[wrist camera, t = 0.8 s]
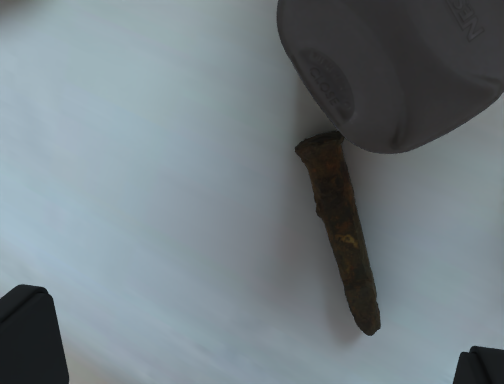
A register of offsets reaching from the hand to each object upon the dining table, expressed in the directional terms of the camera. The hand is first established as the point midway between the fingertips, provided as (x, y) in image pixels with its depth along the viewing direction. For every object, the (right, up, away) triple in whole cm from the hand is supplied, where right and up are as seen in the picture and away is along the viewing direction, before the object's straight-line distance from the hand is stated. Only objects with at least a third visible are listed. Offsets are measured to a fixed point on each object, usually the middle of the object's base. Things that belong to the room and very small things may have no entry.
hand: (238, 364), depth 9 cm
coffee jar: (+9, +16, +22) cm, 29 cm away
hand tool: (+9, +1, +28) cm, 29 cm away
